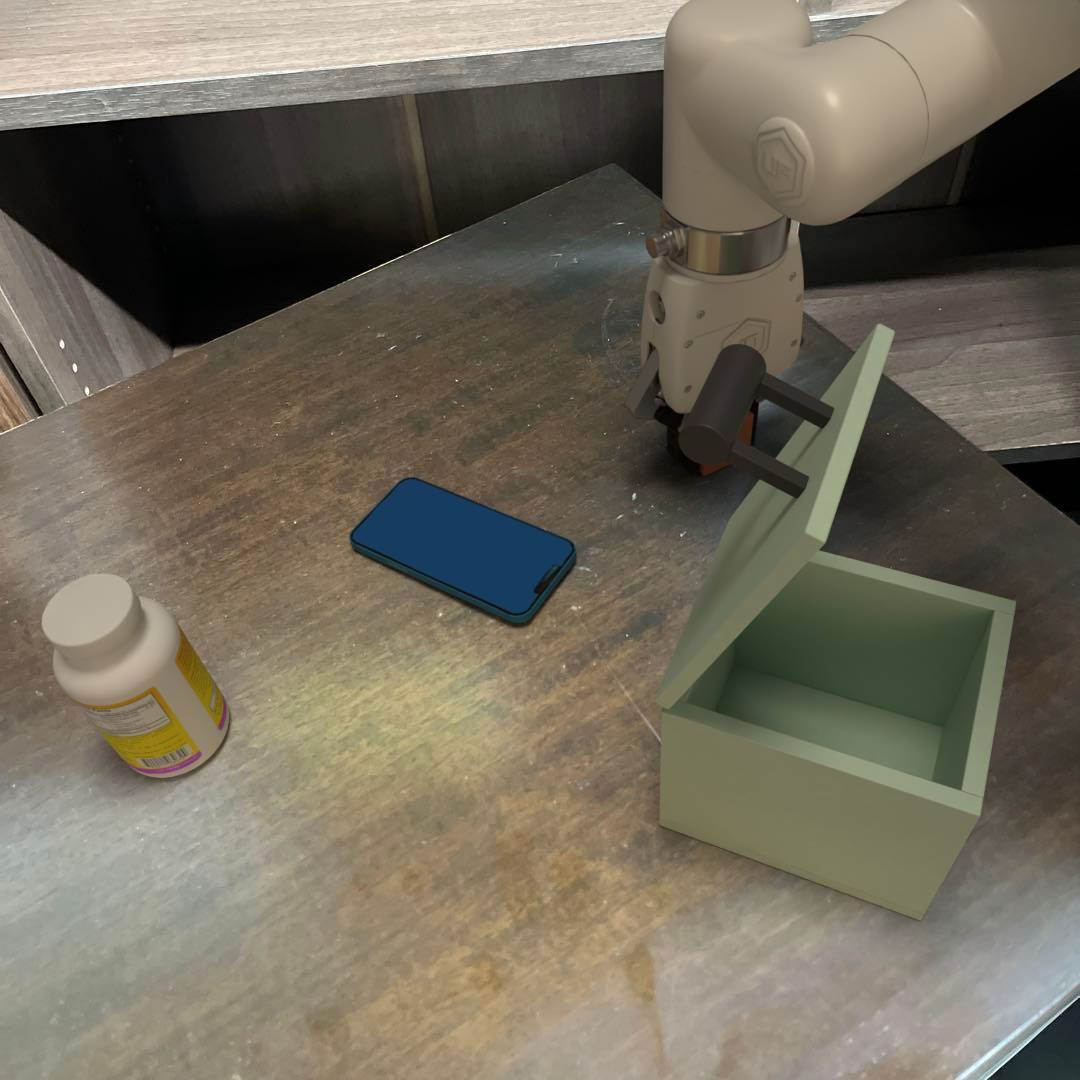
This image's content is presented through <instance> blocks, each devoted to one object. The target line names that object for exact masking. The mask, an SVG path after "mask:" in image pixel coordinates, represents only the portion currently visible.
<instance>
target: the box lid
mask: <svg viewBox="0 0 1080 1080" xmlns="http://www.w3.org/2000/svg"><path fill="white" fill-rule="evenodd" d="M895 334H896V332H895V330H893V329H892V328H890V327H888V326H887V325H884V324H882V323H880V322H879V323H877V324H876V325H875V326H874V328H873V329H872V330H871V332H870V333H869V334H868V336H867V337H866V338H865V340H864V341H862V344H861V345H860V346H859V347H858V349H857V350H856V351H855V353H854V354H853V355H852V357H851V358H850V359H849V360H848V362H847V363H846V364H845V366H844V367H843V368H842V370H841V371H840V373H839V374H838V375H837V377H836V378H835V379H834V380H833V382H832V383H831V385H830V386H829V387H828V389H827V390H826V391H825V393H824V394H823V395H822V396H821V397H820V399H818V398H817V397H814V396H812V395H811V394H809V393H807V392H805V391H803V390H801V389H800V388H797V387H795V386H794V385H792V384H791V383H788V382H786V381H784V380H782V379H781V378H778V377H777V376H776V377H775V376H773V375H771V374H769V373H767V372H766V362H765V360H764V358H763V356H762V355H761V354H760V353H759V352H758V351H757V350H756V349H754V348H752V347H750V346H748V345H744V344H733V345H729V346H727V347H725V348H724V349H722V350H721V352H720V353H719V355H718V357H717V359H716V361H715V363H714V365H713V367H712V369H711V371H710V373H709V375H708V377H707V379H706V381H705V383H704V385H703V387H702V389H701V391H700V393H699V395H698V397H697V400H696V402H695V404H694V406H693V408H692V410H691V412H690V414H689V416H688V418H687V420H686V422H685V424H684V426H683V428H682V430H681V432H680V434H679V446H680V448H681V450H682V451H683V453H684V454H685V455H686V456H687V457H688V458H689V459H691V460H693V461H694V462H696V463H699V464H702V465H708V466H713V465H718V464H721V463H723V462H724V461H726V462H728V463H730V464H729V465H732V466H734V467H735V468H737V469H739V470H741V471H743V472H745V473H747V474H748V475H750V476H753V477H754V478H756V479H757V480H758V481H757V482H756V483H755V485H754V486H753V487H752V489H751V490H750V491H749V492H748V494H747V496H746V497H745V498H744V499H743V501H742V502H741V503H740V505H739V506H738V508H737V509H736V510H735V511H734V512H733V514H732V515H731V516H730V518H729V519H728V522H727V524H726V526H725V529H724V531H723V534H722V536H721V539H720V541H719V543H718V546H717V548H716V551H715V553H714V555H713V558H712V559H711V561H710V562H711V563H710V566H709V567H708V570H707V572H706V575H705V577H704V579H703V581H702V584H701V586H700V588H699V591H698V593H697V595H696V598H695V601H694V604H693V606H692V608H691V611H690V613H689V615H688V618H687V620H686V623H685V625H684V627H683V630H682V632H681V634H680V637H679V638H678V639H679V640H678V642H677V644H676V647H675V649H674V651H673V653H672V656H671V659H670V661H669V663H668V666H667V667H666V671H665V673H664V675H663V678H662V680H661V683H660V685H659V687H658V690H657V692H656V695H655V697H654V699H653V702H654V704H657V705H659V706H660V707H662V708H663V707H664V708H666V709H670V708H671V707H672V706H673V705H674V703H675V702H676V701H677V700H678V699H679V698H680V697H681V696H682V695H683V694H684V693H685V692H686V691H687V690H688V689H689V688H690V686H691V685H692V684H693V683H694V682H695V681H696V680H697V679H698V678H699V677H700V676H701V675H702V674H703V673H704V672H705V670H706V669H707V668H708V667H709V666H710V665H711V664H712V663H713V662H714V661H715V660H716V659H717V658H718V657H719V656H720V655H721V653H722V652H723V651H724V650H725V649H726V648H727V647H728V646H729V645H730V644H731V643H732V642H733V641H734V640H735V639H736V638H737V636H738V635H739V634H740V633H741V632H742V631H743V630H744V629H745V628H746V627H747V626H748V625H749V624H750V623H751V622H752V620H753V619H754V618H755V617H756V616H757V615H758V614H759V613H760V612H761V611H762V610H763V609H764V608H765V607H766V606H767V605H768V603H769V602H770V601H771V600H772V599H773V598H774V597H775V596H776V595H777V594H778V593H779V592H780V591H781V590H782V589H783V588H784V586H785V585H786V584H787V583H788V582H789V581H790V580H791V579H792V578H793V577H794V576H795V575H796V574H797V573H798V572H799V571H800V569H801V568H802V567H803V566H804V565H805V564H806V563H807V562H808V561H809V560H810V559H811V558H812V557H813V556H814V555H815V553H816V552H817V551H818V550H819V551H820V550H821V548H823V546H824V545H825V544H826V543H827V540H828V537H829V535H830V531H831V528H832V525H833V523H834V519H835V516H836V513H837V511H838V507H839V504H840V501H841V498H842V496H843V493H844V489H845V487H846V483H847V480H848V477H849V474H850V471H851V468H852V464H853V462H854V458H855V456H856V452H857V449H858V447H859V443H860V440H861V437H862V434H863V431H864V428H865V426H866V422H867V419H868V417H869V414H870V410H871V407H872V404H873V401H874V398H875V395H876V392H877V390H878V386H879V384H880V380H881V377H882V374H883V371H884V368H885V364H886V361H887V358H888V357H889V356H888V355H889V353H890V350H891V346H892V343H893V341H894V338H895ZM756 394H757V395H759V396H760V397H762V398H764V399H765V400H766V401H768V402H770V403H772V404H774V405H776V406H777V407H779V408H781V409H783V410H785V411H787V412H789V413H791V414H793V415H795V416H796V417H798V418H800V419H802V420H803V422H802V423H801V424H800V425H799V427H798V428H797V429H796V431H795V432H794V434H793V435H792V436H791V437H790V438H789V440H787V443H786V444H785V445H784V447H782V449H781V450H780V451H779V453H778V454H777V456H776V457H773V456H771V455H769V454H768V453H765V452H764V451H761V450H759V449H757V448H755V447H754V446H750V445H748V444H746V443H744V442H742V441H741V440H739V439H737V437H738V435H739V433H740V431H741V428H742V426H743V424H744V421H745V419H746V417H747V415H748V412H749V410H750V408H751V406H752V403H753V401H754V399H755V396H756Z"/></svg>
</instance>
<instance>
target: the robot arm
mask: <svg viewBox="0 0 1080 1080" xmlns="http://www.w3.org/2000/svg"><path fill="white" fill-rule="evenodd" d="M813 36H814V34H813V26H812V23H811V19H810V16H809V15H808V13H807V10H806V9H805V8H804V6H803V5H802V4H801V3H799V2H798V1H797V0H688V1H687V2H685V3H684V4H683V5H681V6H680V7H679V8H678V9H677V10H676V11H675V13H674V14H673V16H672V17H671V19H670V20H669V22H668V26H667V27H666V31H665V35H664V44H663V45H664V46H663V92H662V93H663V95H662V98H663V101H662V103H663V106H662V109H663V110H662V112H663V113H662V114H663V115H662V126H663V127H662V195H661V197H662V198H661V199H662V200H661V208H662V209H661V210H660V224H659V225H660V227H659V229H657V230H656V231H655V233H653V234H650V235H648V236H646V238H645V248H646V251H647V252H648V255H649V256H650V257H651V258H652V260H651V264H650V268H649V273H648V277H647V283H646V288H645V294H644V301H643V309H642V317H641V329H640V372H639V374H638V376H637V378H636V379H635V382H634V383H633V385H632V387H631V389H630V391H629V393H628V394H627V396H626V398H625V400H624V402H623V408H624V409H626V411H627V412H628V413H629V414H630V415H631V416H632V417H633V418H634V419H636V420H644V421H657V423H659V424H661V425H663V426H665V427H666V451H667V454H668V455H669V457H670V458H671V459H672V460H673V461H674V462H675V463H680V464H681V465H682V466H683V467H684V469H685V470H686V471H687V472H688V473H689V474H690V475H693V474H695V473H698V472H699V468H700V464H699V463H696V462H694V461H693V460H691V459H689V458H688V457H687V456H686V455H685V454H684V453H683V451H682V450H681V448H680V446H679V434H680V432H681V430H682V428H683V426H684V424H685V422H686V420H687V418H688V416H689V414H690V412H691V410H692V408H693V406H694V404H695V402H696V400H697V397H698V395H699V393H700V391H701V389H702V387H703V385H704V383H705V381H706V379H707V377H708V375H709V373H710V371H711V369H712V367H713V365H714V363H715V361H716V359H717V357H718V355H719V353H720V352H721V350H722V349H724V348H725V347H727V346H729V345H733V344H744V345H748V346H750V347H752V348H754V349H756V350H757V351H758V352H759V353H760V354H761V355H762V356H763V358H764V360H765V362H766V372H767V373H769V374H771V375H773V376H775V377H776V378H777V376H779V375H781V374H783V373H784V372H787V370H789V369H790V368H791V367H792V366H793V365H794V364H795V363H796V361H797V359H798V357H799V352H800V348H801V347H802V346H803V345H804V343H805V341H806V338H805V336H804V335H803V333H802V331H803V320H804V302H805V296H804V295H805V281H804V265H803V263H804V262H803V255H802V249H801V243H800V237H799V234H798V232H797V231H796V230H795V229H793V227H791V226H792V221H795V222H797V223H799V224H802V225H803V224H804V225H809V226H816V227H817V226H826V225H827V226H828V225H832V224H835V223H838V222H841V221H843V220H845V219H847V218H849V217H851V216H853V215H855V214H856V213H858V212H860V211H861V210H863V209H864V208H866V207H867V206H869V205H870V204H872V203H874V202H875V201H877V200H878V199H880V198H881V197H883V196H884V195H886V194H887V193H889V192H891V191H892V190H894V189H895V188H897V187H898V186H900V185H901V184H903V183H904V181H906V180H908V179H910V178H911V177H912V176H914V175H915V174H917V173H918V172H920V171H922V170H923V169H924V168H926V167H927V166H929V165H930V164H932V163H934V162H935V161H937V160H938V159H940V158H941V157H943V156H945V155H947V154H948V153H950V152H951V151H953V150H955V149H956V148H958V147H959V146H961V145H963V144H965V142H967V141H969V140H970V139H972V138H973V137H975V136H976V135H978V134H979V133H981V132H982V131H984V130H985V129H987V128H988V127H990V126H991V125H993V124H994V123H996V122H997V121H999V120H1000V119H1002V118H1004V117H1005V116H1006V115H1008V114H1009V113H1011V112H1013V111H1014V110H1016V109H1018V107H1020V106H1022V105H1023V104H1025V103H1026V102H1028V101H1030V100H1032V99H1033V98H1034V97H1036V96H1038V95H1039V94H1041V93H1042V92H1044V91H1045V90H1047V89H1048V88H1050V87H1051V86H1053V85H1054V84H1056V83H1057V82H1059V81H1061V80H1063V79H1064V78H1066V77H1068V76H1069V75H1070V74H1072V73H1074V72H1076V71H1077V70H1079V69H1080V0H905V1H903V2H901V3H900V4H898V5H897V6H894V7H892V8H890V9H889V10H886V11H884V12H883V13H880V14H878V15H876V16H875V17H873V18H871V19H869V20H867V21H866V22H863V23H861V24H859V25H857V26H856V27H854V28H853V29H850V30H848V31H847V32H845V33H843V34H841V35H840V36H837V37H836V38H833V39H832V40H828V41H824V42H821V43H816V44H813V38H814V37H813ZM660 391H662V393H661V396H659V394H660ZM765 400H766V399H764V398H762V397H760V396H759V395H757V394H756V396H755V399H754V401H753V403H752V406H751V408H750V410H749V411H750V412H752V413H753V415H754V417H753V426H752V435H751V445H750V446H752V447H754V446H755V443H756V437H757V436H756V433H757V425H758V419H759V418H758V417H759V409H760V403H761V404H762V403H763V402H764V401H765Z"/></svg>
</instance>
